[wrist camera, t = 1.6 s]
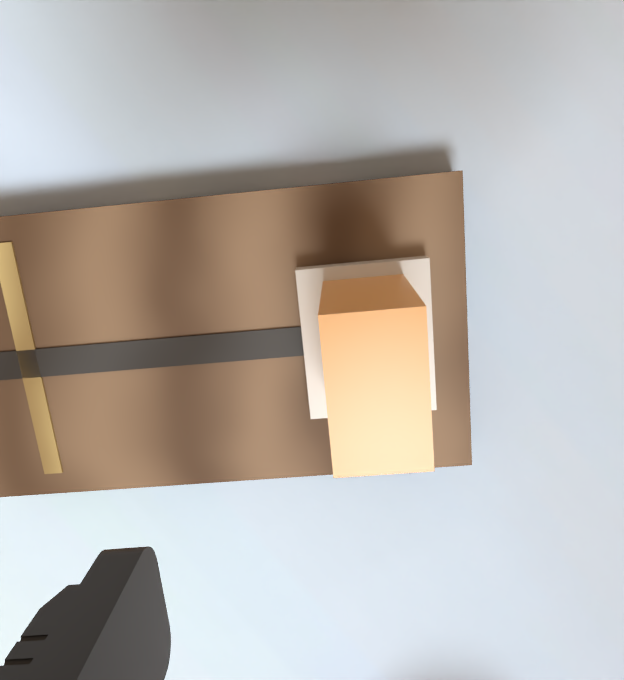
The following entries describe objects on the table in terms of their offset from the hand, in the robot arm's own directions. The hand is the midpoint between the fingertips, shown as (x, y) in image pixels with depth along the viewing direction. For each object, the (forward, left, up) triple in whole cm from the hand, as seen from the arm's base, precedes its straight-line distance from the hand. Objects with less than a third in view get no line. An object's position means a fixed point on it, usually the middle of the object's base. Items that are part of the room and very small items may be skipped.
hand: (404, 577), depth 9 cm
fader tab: (0, 0, -15) cm, 15 cm away
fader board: (+7, 0, -17) cm, 18 cm away
